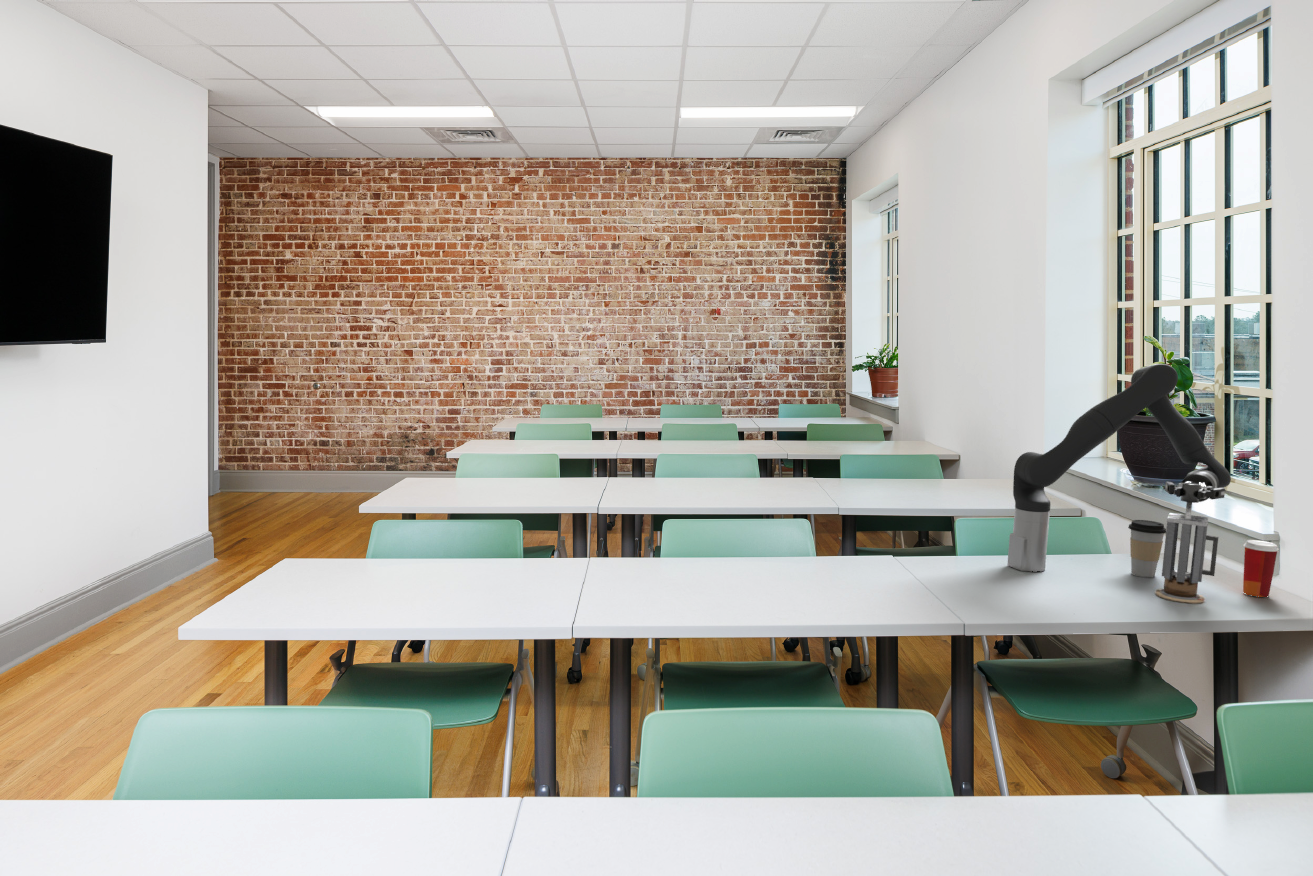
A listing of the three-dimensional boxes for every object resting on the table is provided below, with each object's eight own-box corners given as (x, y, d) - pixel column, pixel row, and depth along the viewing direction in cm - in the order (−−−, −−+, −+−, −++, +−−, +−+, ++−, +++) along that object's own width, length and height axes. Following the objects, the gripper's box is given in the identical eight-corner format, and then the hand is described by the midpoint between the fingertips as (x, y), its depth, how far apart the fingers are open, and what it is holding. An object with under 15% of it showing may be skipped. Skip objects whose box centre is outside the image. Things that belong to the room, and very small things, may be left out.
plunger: (1182, 579, 222) (1192, 486, 220) (1162, 573, 228) (1172, 482, 225) (1200, 578, 224) (1210, 486, 221) (1181, 572, 230) (1190, 481, 227)
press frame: (1153, 597, 225) (1161, 517, 223) (1157, 588, 234) (1164, 511, 232) (1210, 607, 218) (1219, 525, 216) (1212, 597, 227) (1220, 518, 225)
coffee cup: (1166, 580, 243) (1172, 527, 241) (1130, 577, 244) (1135, 525, 243) (1154, 571, 252) (1159, 520, 250) (1119, 569, 254) (1124, 518, 252)
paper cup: (1267, 592, 233) (1273, 541, 232) (1277, 600, 226) (1283, 547, 225) (1234, 589, 236) (1239, 538, 234) (1242, 596, 229) (1248, 544, 227)
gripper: (1170, 469, 239) (1158, 475, 225) (1232, 475, 230) (1223, 483, 216) (1167, 496, 239) (1155, 504, 226) (1228, 503, 231) (1220, 512, 217)
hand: (1188, 494), depth 221 cm, fingers closed on plunger, 4 cm apart
